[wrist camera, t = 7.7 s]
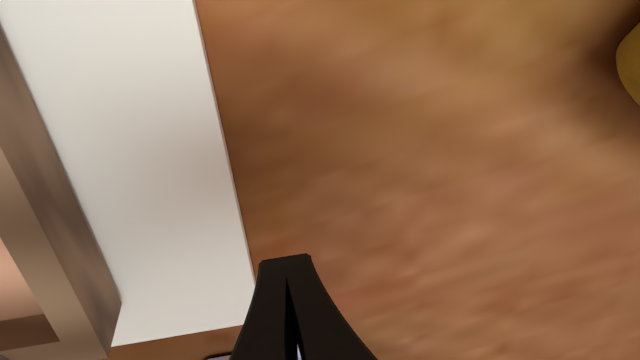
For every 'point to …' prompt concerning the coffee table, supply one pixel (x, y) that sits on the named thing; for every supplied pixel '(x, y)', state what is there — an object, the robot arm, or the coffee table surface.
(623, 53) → the flower pot
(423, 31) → the coffee table surface
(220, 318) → the wall board
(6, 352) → the wooden tray
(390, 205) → the coffee table surface
